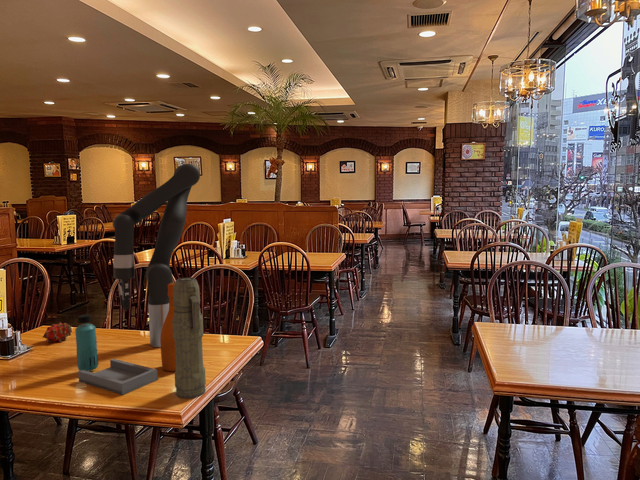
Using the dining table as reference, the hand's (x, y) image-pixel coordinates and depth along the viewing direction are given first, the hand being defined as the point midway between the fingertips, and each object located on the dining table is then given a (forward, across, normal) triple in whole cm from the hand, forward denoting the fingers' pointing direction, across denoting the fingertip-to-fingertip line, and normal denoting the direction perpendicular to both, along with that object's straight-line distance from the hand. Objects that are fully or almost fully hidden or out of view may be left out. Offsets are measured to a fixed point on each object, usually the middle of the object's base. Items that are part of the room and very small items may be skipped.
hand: (124, 307), depth 176 cm
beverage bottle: (+18, -18, +14) cm, 29 cm away
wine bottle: (+17, -30, -13) cm, 37 cm away
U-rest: (+18, -32, +6) cm, 37 cm away
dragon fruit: (+18, +29, +23) cm, 41 cm away
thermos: (+17, -54, -12) cm, 58 cm away
